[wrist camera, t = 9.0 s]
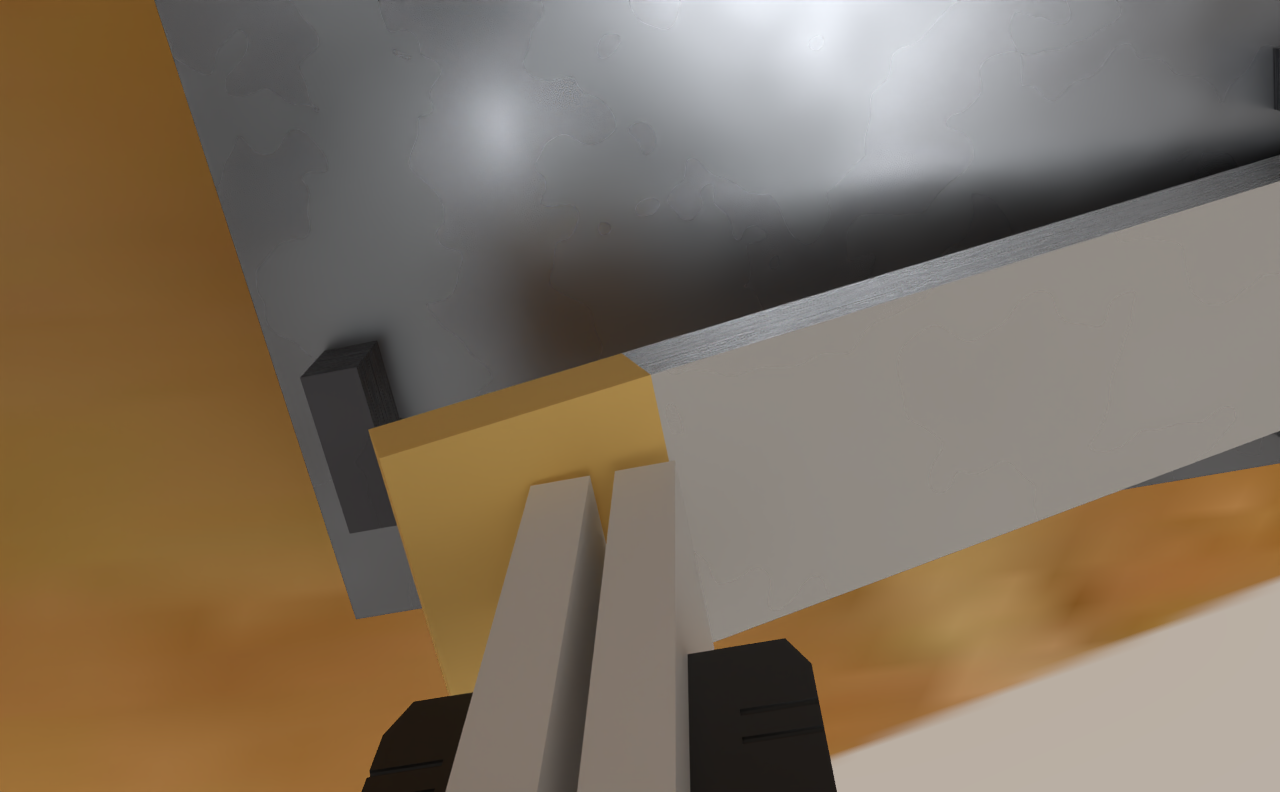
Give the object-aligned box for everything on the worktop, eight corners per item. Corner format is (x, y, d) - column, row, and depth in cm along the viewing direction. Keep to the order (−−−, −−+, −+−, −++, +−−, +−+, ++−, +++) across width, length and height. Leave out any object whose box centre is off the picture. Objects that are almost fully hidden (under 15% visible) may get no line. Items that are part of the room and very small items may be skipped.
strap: (1392, 117, 20) (1485, 122, 18) (1389, 343, 21) (1477, 365, 19) (366, 425, 15) (381, 464, 14) (445, 683, 17) (466, 744, 15)
